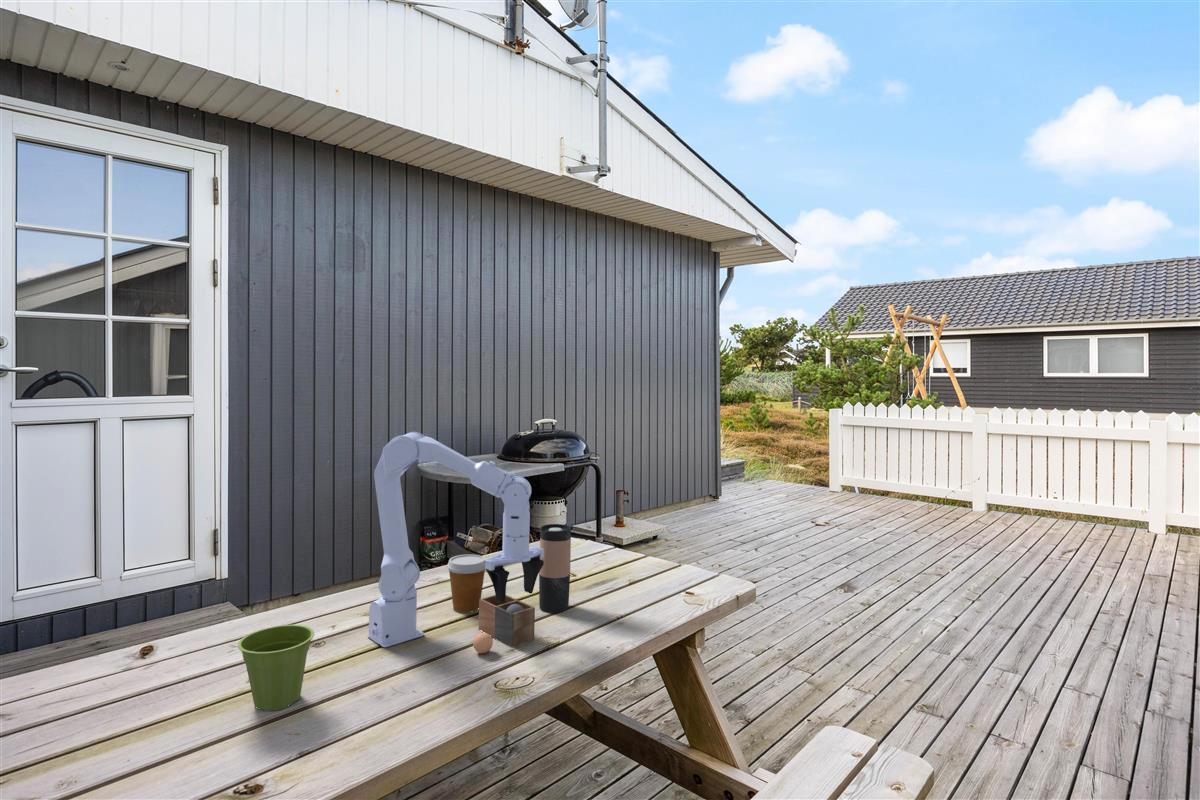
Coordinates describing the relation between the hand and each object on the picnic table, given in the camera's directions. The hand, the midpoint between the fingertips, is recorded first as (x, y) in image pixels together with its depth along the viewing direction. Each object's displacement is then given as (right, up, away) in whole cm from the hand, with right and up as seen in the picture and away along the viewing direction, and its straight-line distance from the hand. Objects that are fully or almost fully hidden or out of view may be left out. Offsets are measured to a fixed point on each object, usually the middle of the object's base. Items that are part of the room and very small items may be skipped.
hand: (514, 596), depth 140 cm
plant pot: (-38, -10, -28) cm, 48 cm away
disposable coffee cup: (-14, -8, +18) cm, 24 cm away
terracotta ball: (-6, -10, -7) cm, 13 cm away
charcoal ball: (-1, -5, +1) cm, 5 cm away
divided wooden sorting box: (-2, -9, +2) cm, 10 cm away
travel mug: (+7, -9, +19) cm, 22 cm away
